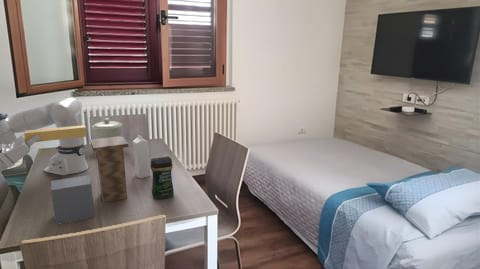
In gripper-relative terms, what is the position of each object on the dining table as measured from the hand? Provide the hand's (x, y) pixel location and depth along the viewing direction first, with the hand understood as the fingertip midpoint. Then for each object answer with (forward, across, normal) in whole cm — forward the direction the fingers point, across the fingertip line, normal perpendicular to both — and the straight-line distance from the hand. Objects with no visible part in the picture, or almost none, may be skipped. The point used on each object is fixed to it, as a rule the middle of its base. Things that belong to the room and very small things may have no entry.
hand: (39, 134), depth 139 cm
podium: (-8, +12, -33) cm, 36 cm away
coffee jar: (+24, +10, -51) cm, 57 cm away
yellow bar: (+4, 0, -5) cm, 7 cm away
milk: (+21, -19, -50) cm, 58 cm away
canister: (+14, -74, -46) cm, 88 cm away
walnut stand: (+6, 0, -41) cm, 41 cm away
